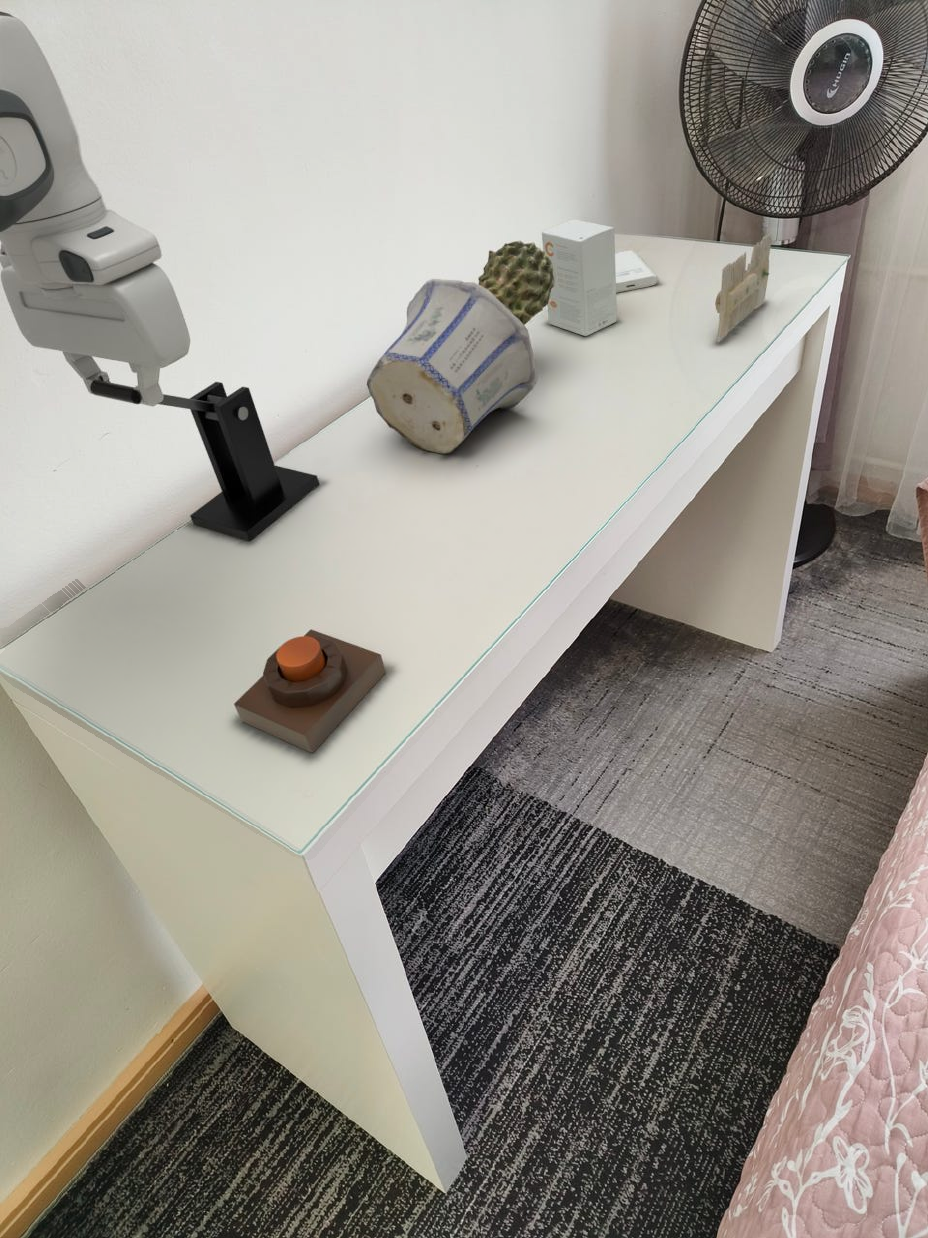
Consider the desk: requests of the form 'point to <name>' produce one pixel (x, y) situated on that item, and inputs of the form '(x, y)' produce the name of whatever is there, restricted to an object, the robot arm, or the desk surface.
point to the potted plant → (463, 350)
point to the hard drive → (632, 272)
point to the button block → (311, 694)
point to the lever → (129, 396)
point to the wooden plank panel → (743, 287)
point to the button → (300, 658)
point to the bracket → (243, 468)
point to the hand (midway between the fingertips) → (127, 397)
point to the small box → (581, 276)
